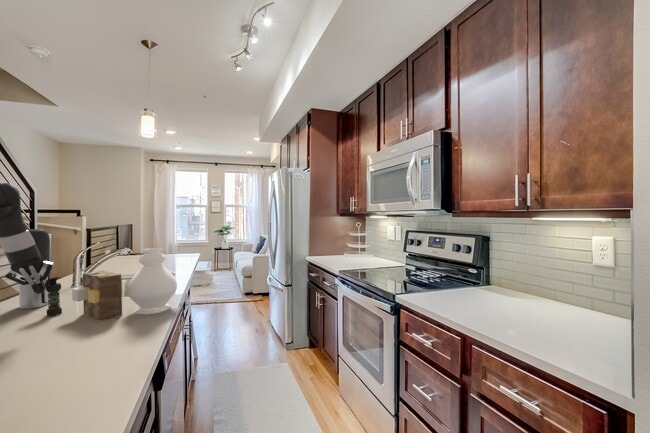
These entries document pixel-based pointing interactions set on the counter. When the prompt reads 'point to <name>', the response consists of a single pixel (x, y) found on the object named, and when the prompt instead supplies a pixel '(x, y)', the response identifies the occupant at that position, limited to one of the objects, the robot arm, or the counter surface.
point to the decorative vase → (152, 283)
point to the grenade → (52, 296)
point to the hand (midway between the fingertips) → (41, 292)
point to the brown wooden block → (104, 295)
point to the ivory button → (80, 293)
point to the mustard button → (94, 295)
